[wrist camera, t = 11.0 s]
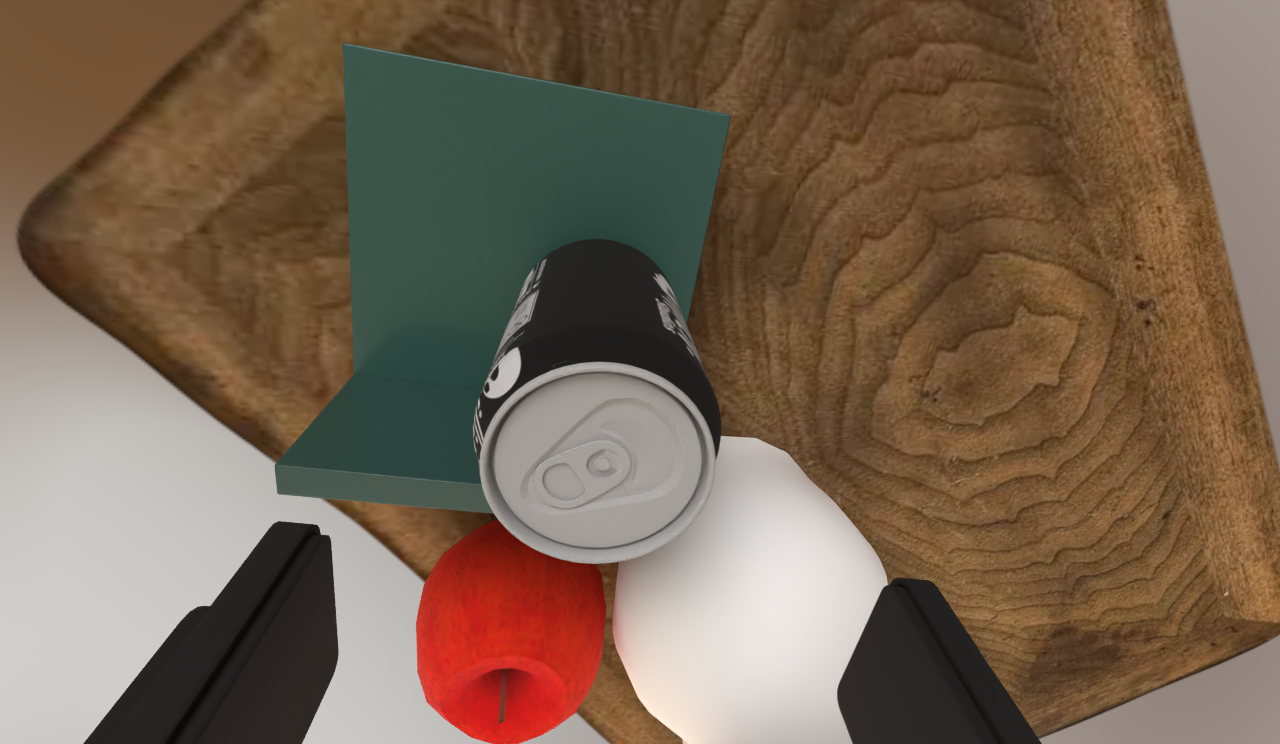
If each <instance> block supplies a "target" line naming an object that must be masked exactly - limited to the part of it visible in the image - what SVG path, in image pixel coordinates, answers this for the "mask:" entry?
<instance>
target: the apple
mask: <svg viewBox="0 0 1280 744" xmlns="http://www.w3.org/2000/svg"><path fill="white" fill-rule="evenodd" d="M605 615H606V603H605V597H604V591H603V584H602V577H601V573H600V571H599V569H598V567H597V565H596V564H590V563H577V562H571V561H567V560H562V559H558V558H555V557H552V556H549V555H547V554H544V553H541V552H539V551H537V550H535V549H533V548H531V547H530V546H528V545H526V544H525V543H523V542H522V541H520V540H519V539H518V538H516V537H515V536H514V535H513V534H511V533H510V532H509V531H508V530H507V529H506V528H505V527H504V526H503V524H502V523H501V522H500V521H499V520H498V518H497V519H495V520H493V521H491V522H489V523H487V524H485V525H483V526H481V527H479V528H477V529H476V530H474V531H473V532H472V533H470V534H469V535H468V536H466V537H465V538H463V539H462V540H461V541H459V542H458V543H457V544H455V545H454V546H453V547H452V548H450V549H449V550H448V551H446V552H445V553H444V554H443V555H442V556H441V558H440V559H439V561H438V562H437V564H436V565H435V567H434V568H433V570H432V572H431V573H430V575H429V577H428V578H427V580H426V582H425V584H424V587H423V592H422V596H421V601H420V606H419V610H418V616H417V621H416V633H417V666H418V667H417V668H418V675H419V678H420V681H421V685H422V688H423V691H424V694H425V698H426V701H427V703H429V704H430V705H431V706H432V707H433V708H434V709H435V710H436V711H437V712H438V713H439V714H440V715H441V716H442V717H443V718H444V719H446V720H447V721H448V722H450V723H451V724H452V725H454V726H455V727H457V728H458V729H460V730H461V731H463V732H464V733H466V734H467V735H468V736H470V737H472V738H475V739H478V740H482V741H485V742H489V743H492V744H519V743H522V742H524V741H527V740H530V739H532V738H535V737H538V736H541V735H543V734H544V733H546V732H548V731H550V730H552V729H554V728H555V727H557V726H558V725H560V724H561V723H562V722H563V721H565V720H566V719H568V718H569V717H570V716H572V715H573V714H575V712H576V711H577V709H578V708H579V706H580V705H581V703H582V701H583V700H584V698H585V697H586V695H587V693H588V691H589V689H590V687H591V685H592V683H593V681H594V679H595V677H596V674H597V671H598V667H599V664H600V660H601V656H602V652H603V640H604V627H605Z"/></svg>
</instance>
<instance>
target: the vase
mask: <svg viewBox="0 0 1280 744" xmlns="http://www.w3.org/2000/svg"><path fill="white" fill-rule="evenodd" d="M886 585H888V583H887V577H886V573H885V571H884V569H883V566H882V564H881V561H880V559H879V557H878V556H877V554H876V553H875V551H874V549H873V548H872V546H871V545H870V544H869V543H868V541H867V540H866V539H865V538H864V537H863V535H862V534H861V533H860V532H859V531H858V529H857V528H856V527H855V526H854V525H853V523H852V522H851V521H850V520H849V519H848V517H847V516H846V515H845V514H844V513H843V511H842V510H841V509H840V508H839V507H838V505H837V504H836V503H835V502H834V501H833V500H832V499H831V498H830V497H829V496H828V495H827V494H826V493H824V492H823V491H822V490H821V489H820V488H819V487H817V486H816V485H815V484H814V483H813V482H812V481H811V480H809V479H808V477H807V476H806V474H805V473H804V472H803V471H802V470H801V468H800V467H799V466H798V465H797V464H796V463H795V461H794V460H793V459H792V458H791V457H790V455H789V454H788V453H787V452H785V451H783V450H780V449H778V448H776V447H774V446H772V445H770V444H767V443H765V442H763V441H761V440H759V439H757V438H747V437H730V436H721V439H720V446H719V451H718V456H717V459H716V461H715V477H714V481H713V485H712V489H711V492H710V494H709V497H708V499H707V501H706V503H705V505H704V507H703V508H702V510H701V512H700V513H699V514H698V516H697V517H696V518H695V519H694V521H693V522H692V523H691V524H690V525H689V526H688V528H687V529H685V530H684V531H683V532H682V533H681V534H680V535H679V536H677V537H676V538H675V539H673V540H672V541H670V542H669V543H667V544H666V545H664V546H662V547H660V548H658V549H656V550H655V551H653V552H650V553H648V554H645V555H643V556H640V557H636V558H633V559H630V560H625V561H619V564H618V573H617V581H616V589H615V598H614V606H613V615H612V625H613V636H614V641H615V646H616V649H617V651H618V653H619V656H620V658H621V660H622V662H623V665H624V667H625V669H626V671H627V674H628V676H629V678H630V680H631V683H632V685H633V687H634V689H635V692H636V694H637V696H638V698H639V699H640V701H641V702H642V703H643V705H644V706H645V707H646V709H647V710H648V711H649V713H651V714H652V715H653V716H654V717H656V718H657V719H658V720H659V721H660V722H662V723H663V724H664V725H665V726H667V727H668V728H669V729H671V730H672V731H673V732H674V733H676V734H677V735H678V736H680V737H681V738H682V739H683V740H685V741H686V742H687V743H688V744H853V743H852V741H851V738H850V736H849V733H848V730H847V728H846V725H845V722H844V720H843V717H842V714H841V712H840V709H839V706H838V701H837V688H838V685H839V682H840V680H841V678H842V676H843V674H844V671H845V669H846V667H847V665H848V663H849V660H850V658H851V656H852V654H853V652H854V650H855V647H856V645H857V643H858V641H859V639H860V636H861V634H862V632H863V630H864V628H865V626H866V623H867V621H868V619H869V617H870V615H871V612H872V610H873V608H874V606H875V604H876V602H877V599H878V597H879V595H880V593H881V591H882V589H883V588H884V587H885V586H886Z"/></svg>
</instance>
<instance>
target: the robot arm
mask: <svg viewBox="0 0 1280 744" xmlns="http://www.w3.org/2000/svg"><path fill="white" fill-rule="evenodd" d="M337 661H338V637H337V624H336V608H335V593H334V579H333V564H332V551H331V539H330V537H329V536H328V535H321V534H320V529H319V527H318V525H313V524H303V523H292V522H281V521H278V522H276V523H274V524H273V525H272V526H271V527H270V528H269V530H268V531H267V532H266V534H265V535H264V536H263V538H262V539H261V540H260V542H259V543H258V545H257V546H256V547H255V548H254V550H253V551H252V552H251V554H250V555H249V556H248V558H247V559H246V560H245V561H244V563H243V564H242V565H241V567H240V568H239V569H238V571H237V572H236V573H235V575H234V576H233V577H232V579H231V580H230V581H229V582H228V584H227V585H226V587H225V588H224V589H223V590H222V592H221V593H220V594H219V596H218V597H217V598H216V600H215V601H214V602H213V604H212V605H211V606H201V607H197V608H195V609H194V610H192V611H190V612H189V613H188V614H187V615H186V616H185V617H184V619H182V621H181V622H180V623H179V624H178V625H177V627H176V628H175V629H174V630H173V632H172V633H171V634H170V636H169V637H168V638H167V639H166V640H165V642H164V643H163V644H162V645H161V647H160V648H159V649H158V650H157V652H156V653H155V654H154V655H153V657H152V658H151V659H150V661H149V662H148V663H147V664H146V666H145V667H144V668H143V669H142V671H141V672H140V673H139V674H138V676H137V677H136V678H135V680H134V681H133V682H132V683H131V684H130V686H129V687H128V688H127V689H126V691H125V692H124V693H123V695H122V696H121V697H120V699H119V700H118V701H117V702H116V703H115V705H114V706H113V707H112V708H111V710H110V711H109V712H108V714H107V715H106V716H105V717H104V719H103V720H102V721H101V722H100V724H99V725H98V726H97V727H96V729H95V730H94V731H93V733H92V734H91V735H90V736H89V737H88V739H87V740H86V741H85V742H84V744H302V742H303V740H304V738H305V735H306V733H307V731H308V729H309V727H310V725H311V723H312V720H313V718H314V716H315V714H316V712H317V710H318V708H319V705H320V703H321V701H322V699H323V697H324V694H325V692H326V690H327V688H328V686H329V684H330V681H331V679H332V677H333V675H334V672H335V669H336V665H337ZM837 701H838V706H839V709H840V712H841V714H842V717H843V720H844V722H845V725H846V728H847V730H848V733H849V736H850V738H851V741H852V743H853V744H1041V742H1040V741H1039V739H1038V738H1037V736H1036V735H1035V733H1034V732H1033V730H1032V729H1031V727H1030V726H1029V724H1028V723H1027V721H1026V720H1025V718H1024V717H1023V715H1022V714H1021V712H1020V711H1019V709H1018V708H1017V706H1016V705H1015V703H1014V702H1013V700H1012V699H1011V697H1010V696H1009V694H1008V693H1007V691H1006V690H1005V688H1004V687H1003V685H1002V684H1001V682H1000V681H999V679H998V678H997V676H996V675H995V673H994V672H993V670H992V669H991V667H990V666H989V664H988V663H987V661H986V660H985V658H984V657H983V655H982V654H981V652H980V651H979V649H978V648H977V646H976V645H975V643H974V642H973V640H972V639H971V637H970V636H969V634H968V633H967V631H966V630H965V628H964V627H963V625H962V624H961V622H960V621H959V619H958V618H957V616H956V615H955V613H954V612H953V610H952V609H951V607H950V606H949V604H948V603H947V601H946V600H945V598H944V597H943V595H942V594H941V592H940V591H939V589H938V588H937V587H936V586H935V584H934V583H932V582H931V581H929V580H918V579H907V578H896V579H894V580H893V581H892V582H891V584H890V585H886V586H885V587H884V588H883V589H882V591H881V593H880V595H879V597H878V599H877V602H876V604H875V606H874V608H873V610H872V612H871V615H870V617H869V619H868V621H867V623H866V626H865V628H864V630H863V632H862V634H861V636H860V639H859V641H858V643H857V645H856V647H855V650H854V652H853V654H852V656H851V658H850V660H849V663H848V665H847V667H846V669H845V671H844V674H843V676H842V678H841V680H840V682H839V685H838V688H837Z"/></svg>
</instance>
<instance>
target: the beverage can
mask: <svg viewBox="0 0 1280 744" xmlns="http://www.w3.org/2000/svg"><path fill="white" fill-rule="evenodd" d="M720 439H721V419H720V412H719V407H718V403H717V400H716V397H715V395H714V392H713V389H712V387H711V385H710V382H709V380H708V377H707V375H706V372H705V370H704V367H703V365H702V362H701V360H700V357H699V355H698V352H697V350H696V347H695V345H694V342H693V340H692V337H691V335H690V332H689V330H688V327H687V325H686V322H685V320H684V318H683V315H682V313H681V310H680V308H679V305H678V303H677V300H676V298H675V295H674V293H673V290H672V288H671V286H670V283H669V281H668V280H667V278H666V276H665V275H664V273H663V272H662V270H661V269H660V268H659V267H658V266H657V265H656V263H655V262H654V261H652V260H651V259H650V258H649V257H648V256H646V255H645V254H644V253H642V252H641V251H639V250H637V249H635V248H633V247H631V246H629V245H627V244H624V243H621V242H617V241H612V240H606V239H587V240H580V241H576V242H572V243H569V244H566V245H564V246H562V247H560V248H557V249H556V250H554V251H552V252H551V253H549V254H548V255H547V256H545V257H544V258H543V259H542V260H541V261H540V262H539V263H538V264H537V265H536V266H535V267H534V268H533V269H532V271H531V272H530V273H529V275H528V277H527V278H526V280H525V282H524V284H523V286H522V289H521V291H520V294H519V297H518V299H517V302H516V304H515V307H514V309H513V312H512V315H511V317H510V320H509V322H508V325H507V328H506V330H505V333H504V335H503V338H502V340H501V343H500V346H499V348H498V351H497V353H496V356H495V358H494V361H493V364H492V366H491V369H490V371H489V374H488V376H487V379H486V382H485V384H484V387H483V389H482V392H481V395H480V397H479V400H478V403H477V406H476V410H475V415H474V422H473V440H474V448H475V452H476V456H477V460H478V463H479V467H480V478H481V483H482V488H483V491H484V494H485V497H486V499H487V502H488V504H489V506H490V507H491V509H492V511H493V513H494V514H495V516H496V517H497V518H498V520H499V521H500V522H501V523H502V524H503V526H504V527H505V528H506V529H507V530H508V531H509V532H510V533H511V534H513V535H514V536H515V537H516V538H518V539H519V540H520V541H522V542H523V543H525V544H526V545H528V546H530V547H531V548H533V549H535V550H537V551H539V552H541V553H544V554H547V555H549V556H552V557H555V558H558V559H562V560H567V561H571V562H577V563H590V564H600V563H614V562H619V561H625V560H630V559H633V558H636V557H640V556H643V555H645V554H648V553H650V552H653V551H655V550H656V549H658V548H660V547H662V546H664V545H666V544H667V543H669V542H670V541H672V540H673V539H675V538H676V537H677V536H679V535H680V534H681V533H682V532H683V531H684V530H685V529H687V528H688V526H689V525H690V524H691V523H692V522H693V521H694V519H695V518H696V517H697V516H698V514H699V513H700V512H701V510H702V508H703V507H704V505H705V503H706V501H707V499H708V497H709V494H710V492H711V489H712V485H713V481H714V477H715V461H716V459H717V456H718V451H719V446H720Z"/></svg>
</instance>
